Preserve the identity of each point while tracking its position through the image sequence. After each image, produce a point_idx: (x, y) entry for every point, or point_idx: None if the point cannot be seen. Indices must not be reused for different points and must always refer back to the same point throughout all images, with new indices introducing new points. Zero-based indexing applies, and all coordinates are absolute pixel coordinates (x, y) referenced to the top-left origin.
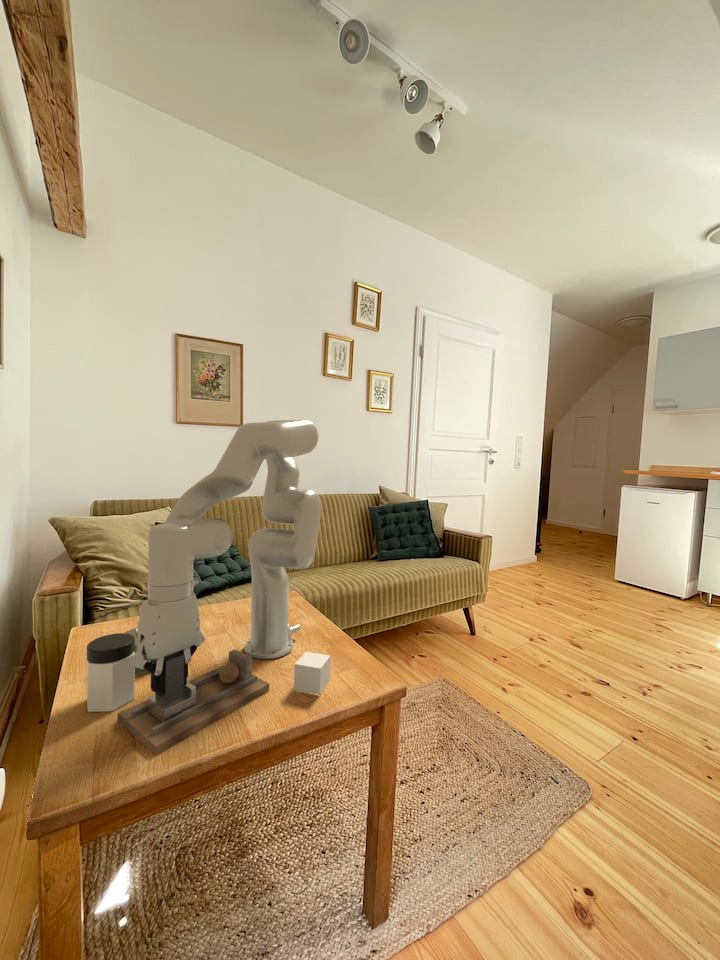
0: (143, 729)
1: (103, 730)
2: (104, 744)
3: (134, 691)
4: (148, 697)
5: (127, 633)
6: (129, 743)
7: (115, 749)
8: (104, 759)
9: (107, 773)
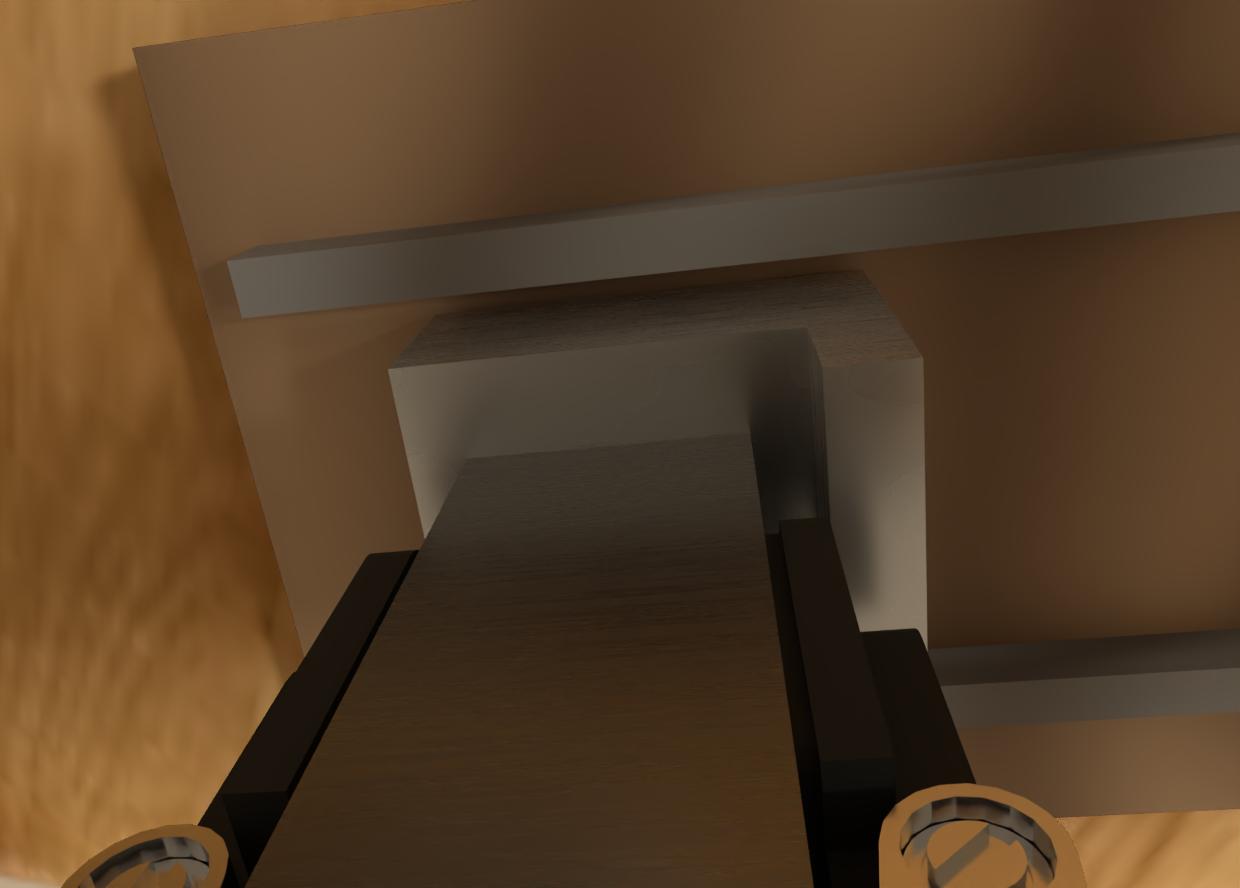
0: (324, 577)
1: (36, 117)
2: (40, 371)
3: None
4: (394, 368)
5: None
6: (236, 516)
7: (123, 510)
8: (36, 569)
9: (52, 727)
